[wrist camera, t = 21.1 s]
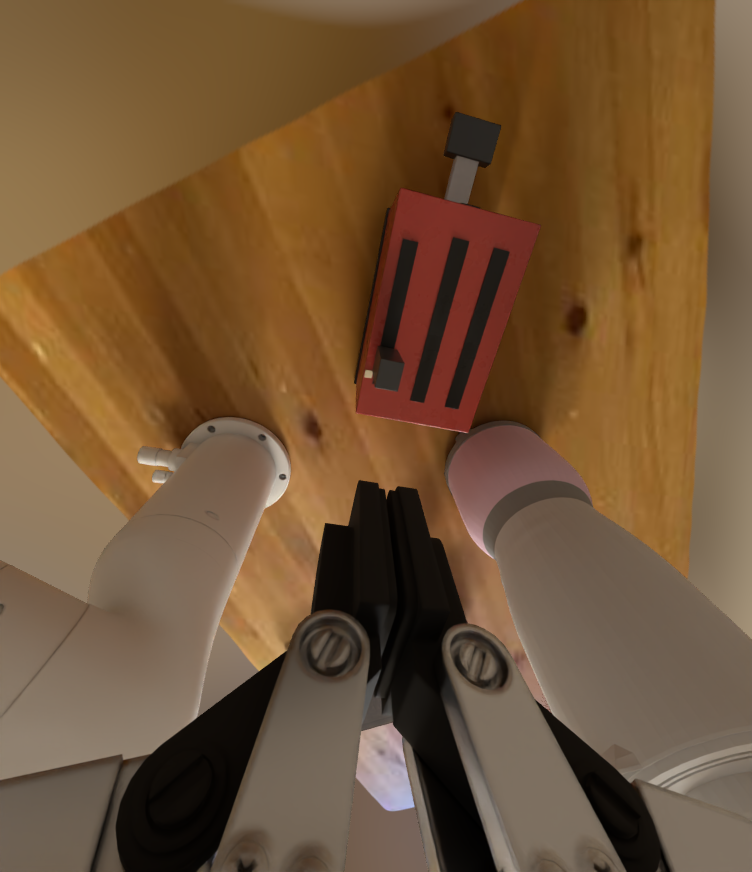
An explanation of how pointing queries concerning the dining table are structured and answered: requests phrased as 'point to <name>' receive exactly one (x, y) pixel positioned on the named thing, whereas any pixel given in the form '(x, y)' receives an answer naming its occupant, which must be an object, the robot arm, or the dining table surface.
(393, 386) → the browning slider
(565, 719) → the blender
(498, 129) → the bread lever
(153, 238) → the dining table surface
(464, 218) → the toaster
